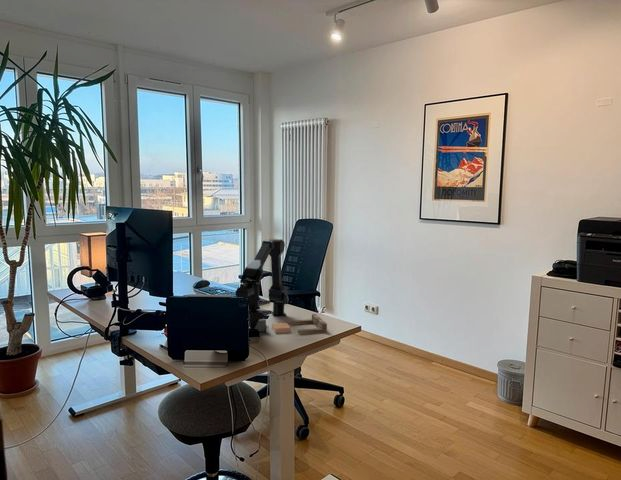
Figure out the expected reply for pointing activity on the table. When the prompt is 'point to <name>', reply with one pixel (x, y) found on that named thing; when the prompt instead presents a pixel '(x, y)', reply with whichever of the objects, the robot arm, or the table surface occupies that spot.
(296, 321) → the tile rack
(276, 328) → the tile
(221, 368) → the table surface
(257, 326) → the scraper
